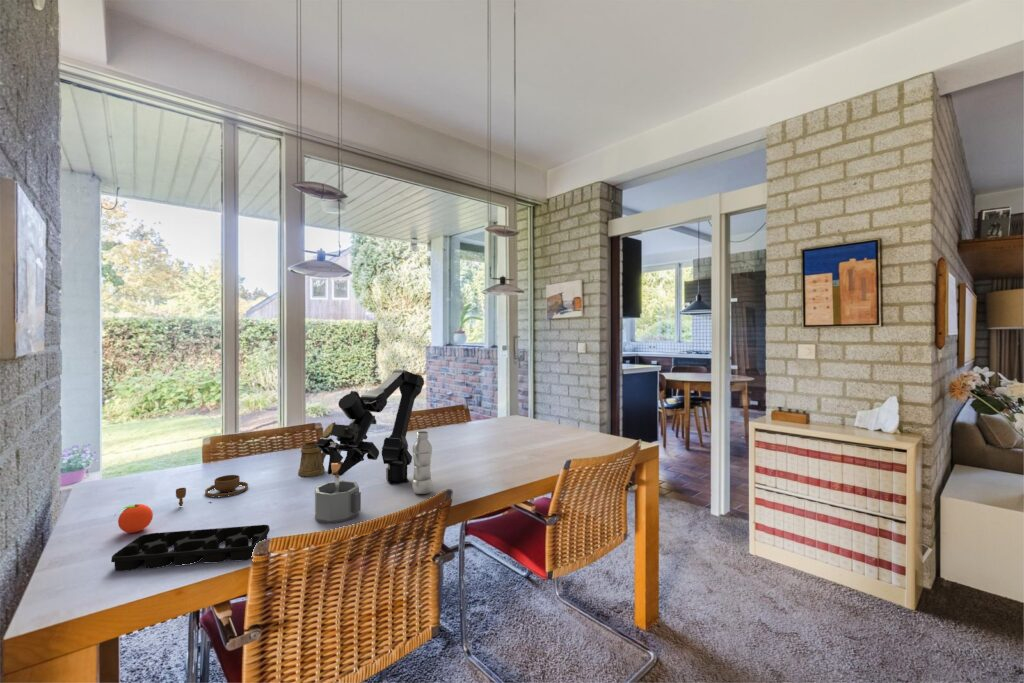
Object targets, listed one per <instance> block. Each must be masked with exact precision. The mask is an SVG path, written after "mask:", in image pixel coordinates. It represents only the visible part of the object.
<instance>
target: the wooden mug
mask: <svg viewBox="0 0 1024 683" xmlns="http://www.w3.org/2000/svg"><path fill="white" fill-rule="evenodd" d="M333 424H337V423H336V422H335V421H334V422H332V423H330V424H329V425H328V426H326V428H325V429H324V431H323V433H322V438H330V436H331V435H330V433H331V430H332V426H333ZM316 443H317V441H306V442H303V443H302V445H301V446H302V447H301V448H300V453H301V455H300V456H301V457H300V464H299V469H298V471H297V472H298V473H297V475H298V476H300V477H304V476H306V477H307V476H309V477H316V476H319V474H320V475H322V474H324V473H325V472H326V471H325V468H326V467H325V466H324V462H325V458H326V456H327V455H326V454H324V453H323V452H322V451H321V450H320V449H319V448H318V447H317V446H316ZM315 475H316V476H315ZM306 477H305V478H306ZM307 478H308V477H307Z"/></svg>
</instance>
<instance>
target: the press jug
mask: <svg viewBox="0 0 1024 683" xmlns="http://www.w3.org/2000/svg"><path fill="white" fill-rule="evenodd" d="M339 492H340V493H335V481H329V482H326V483H323V484H321V485H318V486H316V487H314V520H315V521H316V522H317V523H320V524H321V523H322V524H327V523H332V524H340V523H344V522H348V521H350V520H352V519H354V518H356V517H357V516H358V515H359V512H361V510H362V509H361V507H362V506H361V505H362V504H361V502H362V501H361V500H362V499H361V498H362V495H361V494H362V492H360V486H359V485H358V482H357V481H351V480H345V479H344V480H339ZM330 493H333V494H330Z"/></svg>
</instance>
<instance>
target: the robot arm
mask: <svg viewBox="0 0 1024 683" xmlns="http://www.w3.org/2000/svg"><path fill="white" fill-rule="evenodd" d="M424 384H425V379H424V378H423V376H422V375H421V374H416V373H413V372H410V371H408V370H405V369H395V370H393V371H392V374H390V375H389V376H388V377H387V378H386V379H385V380H384V381H383V382H382V383H381V384H379V386H378V387H377V388H374V389H372V390H368V391H366V392H364V393H363V394H362V395H361V396H360V394H359V392H358V390H357V391H356V390H351V391H350V393H347V394H345V395H343V396H342V398H340V399H339V401H338V407H339V408H340V409H341V411H342V413H344V415H345V416H346V417H347V418H348V419H349V420H351V421H350V423H349V424H347V425H345V424H337V423H336V424H333V426H332V430H331V433H330V436H333V437H336V440H337V441H338V442H339V443H338V442H337V441H336V442H335V441H334V440H333V438H330V437H328V438H323V437H320V438H318V440H317V441H316V442H317V443H316V446H317V447H318V448H319V449H320V450H321V453H322V452H323V453H324V454H326V456H329V460H328V466H327V472H326V473H327V474H328V475H329V476H332V475H331V463H333V462H338V461H341V462H343V464H342V466H341V468H340V470H339V473H338V475H339V477H342V476H343V475H344V474H345V473H347V472H348V471H349V470H351V469H352V468H353V467H355V466H357V464H359V463H361V462H363V461H364V460H365V458H364V457H365V455H366V458H367V459H368V460H370V461H371V460H373V461H377V460H378V457H379V455H380V450H379V449H378V448H377V446H376V445H375V443H374V442H373V441H364V440H367V439H368V435H367V433H368V431H369V429H370V427H371V425H376V424H377V419H376V415H373V414H372V413H381V412H382V411H384V409H385V407H386V406H387V405H388V399H389V398H390V397H391V396H392V395H393V393H394V392H395V391H397V389H399V392H400V395H401V397H400V400H399V404H398V409H397V413H396V416H395V420H394V424H393V429H392V432H391V434H390V435H389V436H388V437H384V440H383V445H382V447H381V457H382V461H383V465H387V467H386V469H385V470H386V471H385V473H386V474H385V479H386V480H387V482H388V483H389V484H390V485H394V483H395V484H399V483H401V482H402V483H406V481H408V482H409V479H408V466H410V465H411V463H412V460H413V455H412V454H411V453H410V452H409V443H408V440H407V438H406V436H407V432H408V428H409V424H410V420H411V416H412V411H413V407H414V404H415V400H416V398H417V397H418V396H419V395H420V394H421V393H422V390H423V388H424ZM342 451H343V452H346V456H345V458H344V457H343V456H342V455H341V453H342ZM343 459H344V460H343ZM342 460H343V461H342Z"/></svg>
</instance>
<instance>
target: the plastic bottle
mask: <svg viewBox="0 0 1024 683" xmlns="http://www.w3.org/2000/svg"><path fill="white" fill-rule="evenodd" d="M416 439H417V440H416V441H415V442H414V443H413V445H412V458H413V478H412V485H411V487H412V492H413V493H414V494H417V495H425V494H429V493H431V491H432V488H433V481H432V480H433V479H432V474H431V473H432V472H431V462H432V460H431V458H432V454H433V446H432V444H431V442H430V441H429V431H425V430H424V431H423V430H422V431H421V430H420V431H417V432H416Z"/></svg>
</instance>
